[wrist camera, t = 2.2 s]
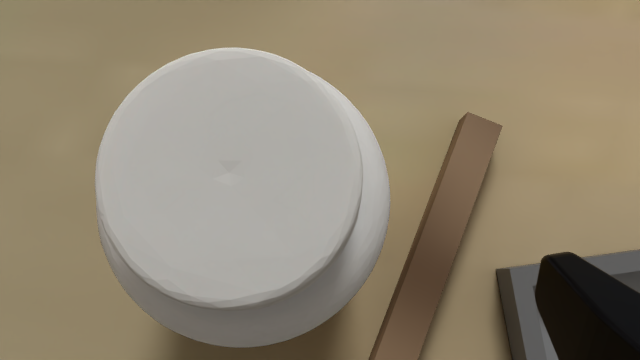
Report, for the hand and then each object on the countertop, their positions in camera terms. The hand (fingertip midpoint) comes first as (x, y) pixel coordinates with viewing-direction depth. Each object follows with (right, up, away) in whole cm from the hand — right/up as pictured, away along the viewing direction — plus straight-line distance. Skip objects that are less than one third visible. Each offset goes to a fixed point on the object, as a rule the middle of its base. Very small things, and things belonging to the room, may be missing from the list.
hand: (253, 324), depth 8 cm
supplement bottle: (-1, 0, +10) cm, 10 cm away
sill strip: (+4, -1, +10) cm, 10 cm away
